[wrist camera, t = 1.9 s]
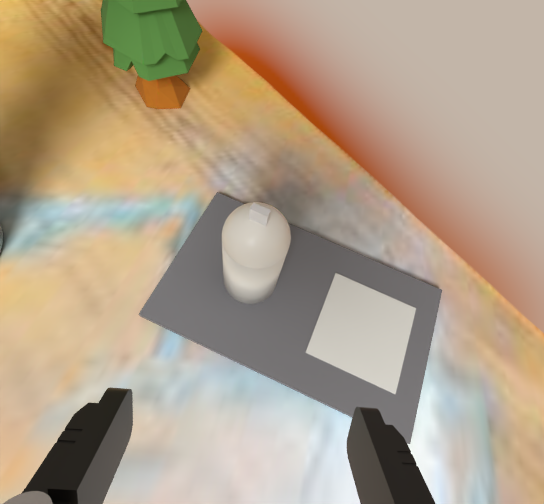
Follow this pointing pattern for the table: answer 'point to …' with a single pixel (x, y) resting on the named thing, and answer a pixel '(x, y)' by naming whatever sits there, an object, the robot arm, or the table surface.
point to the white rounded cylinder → (254, 251)
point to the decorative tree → (153, 45)
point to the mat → (308, 320)
